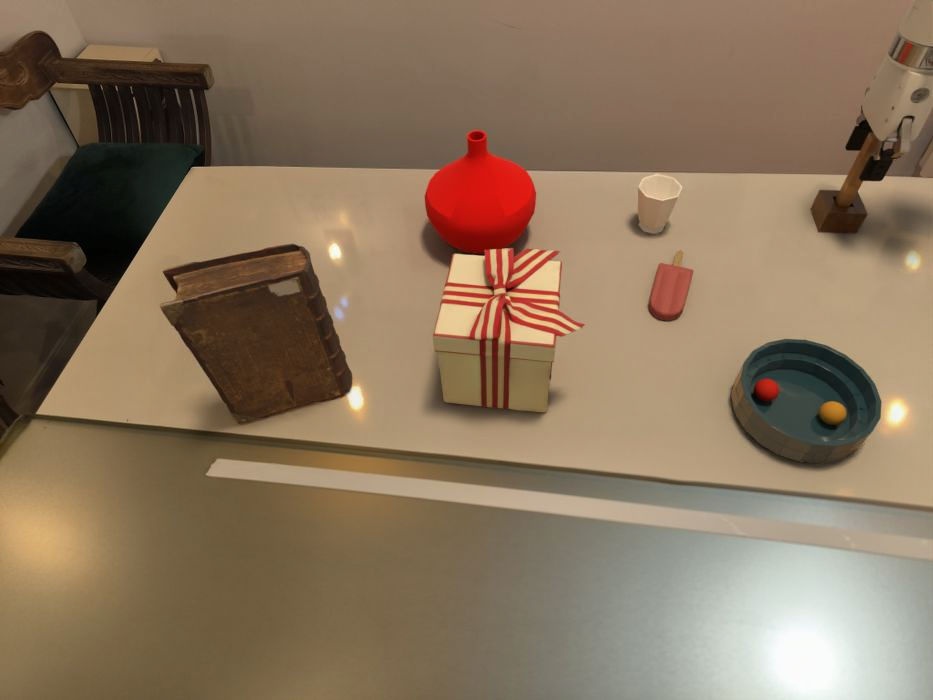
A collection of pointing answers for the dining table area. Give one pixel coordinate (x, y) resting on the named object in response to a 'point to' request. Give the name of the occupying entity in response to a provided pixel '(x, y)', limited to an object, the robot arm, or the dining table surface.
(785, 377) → the bowl
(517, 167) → the vase
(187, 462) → the dining table surface
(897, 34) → the robot arm
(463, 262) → the gift box
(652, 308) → the popsicle
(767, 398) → the red ball
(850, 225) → the holder
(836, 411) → the ochre ball
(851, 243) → the dining table surface
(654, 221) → the cup
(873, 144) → the stick
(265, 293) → the book
